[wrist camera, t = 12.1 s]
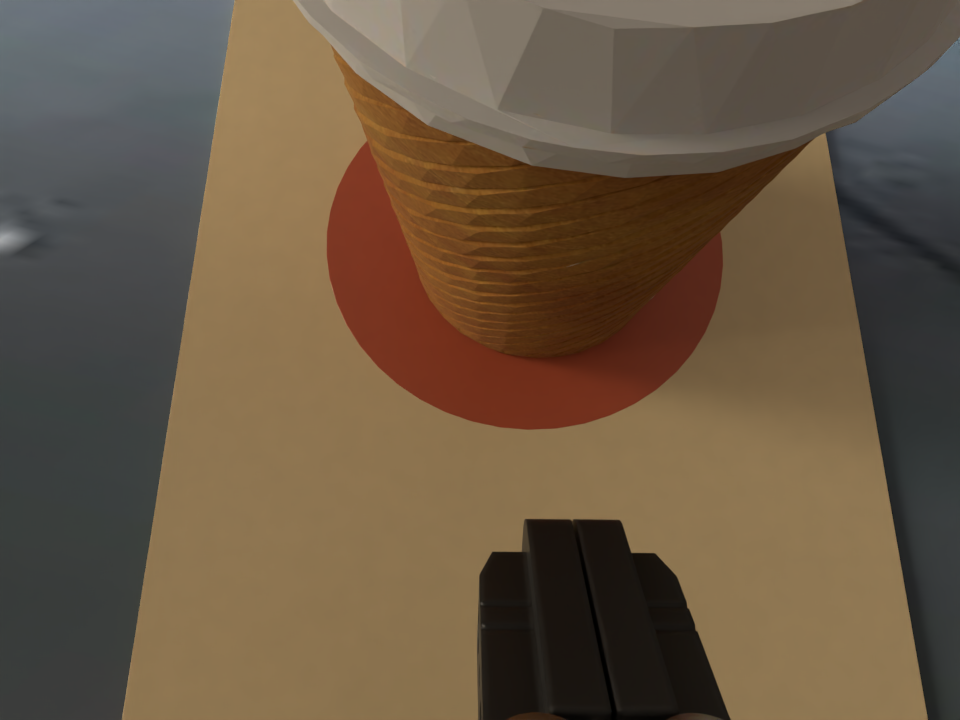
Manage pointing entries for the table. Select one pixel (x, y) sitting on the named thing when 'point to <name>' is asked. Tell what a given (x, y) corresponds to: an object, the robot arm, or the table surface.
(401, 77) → the disposable coffee cup
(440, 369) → the placemat
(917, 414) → the table surface
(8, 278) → the table surface
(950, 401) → the table surface
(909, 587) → the table surface
